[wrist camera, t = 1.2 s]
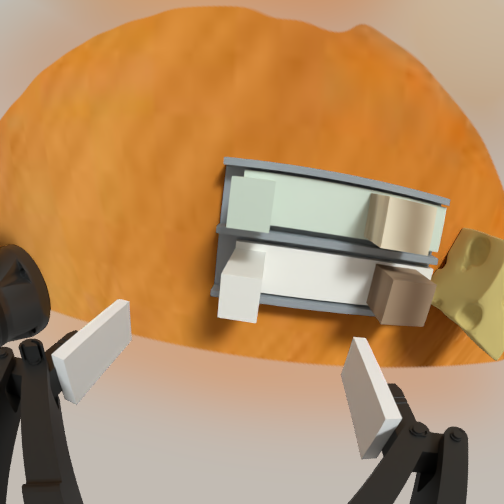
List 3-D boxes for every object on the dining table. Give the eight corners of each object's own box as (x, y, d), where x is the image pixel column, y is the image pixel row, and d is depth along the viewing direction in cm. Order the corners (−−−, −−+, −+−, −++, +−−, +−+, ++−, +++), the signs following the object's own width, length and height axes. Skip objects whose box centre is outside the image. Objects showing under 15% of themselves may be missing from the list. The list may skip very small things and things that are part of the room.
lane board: (215, 287, 32) (210, 295, 30) (228, 158, 29) (224, 156, 26) (411, 310, 31) (420, 319, 29) (438, 197, 28) (450, 199, 25)
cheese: (416, 292, 31) (458, 330, 21) (463, 220, 28) (515, 237, 18) (458, 327, 32) (496, 364, 22) (499, 264, 29) (544, 288, 19)
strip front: (239, 219, 29) (225, 237, 20) (245, 170, 28) (233, 165, 19) (433, 250, 28) (478, 274, 19) (441, 207, 27) (490, 219, 18)
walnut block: (366, 302, 29) (380, 324, 24) (376, 263, 28) (393, 279, 23) (404, 306, 29) (423, 326, 24) (415, 269, 28) (436, 285, 23)
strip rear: (232, 284, 31) (216, 325, 22) (237, 239, 30) (222, 264, 21) (417, 306, 30) (454, 344, 21) (429, 266, 29) (472, 295, 20)
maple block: (363, 236, 28) (380, 247, 23) (370, 192, 26) (389, 196, 22) (405, 243, 27) (427, 255, 22) (413, 202, 26) (437, 207, 21)
